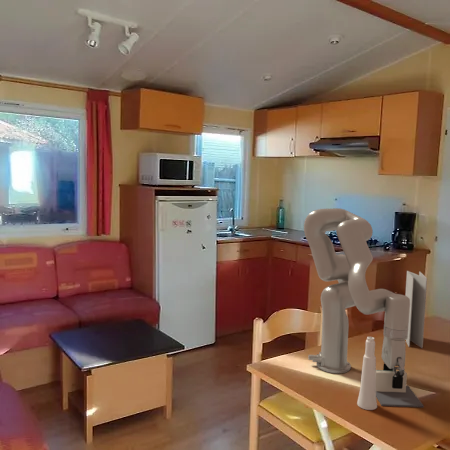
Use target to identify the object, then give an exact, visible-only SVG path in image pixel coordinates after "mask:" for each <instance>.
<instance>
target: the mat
mask: <svg viewBox="0 0 450 450" xmlns="http://www.w3.org/2000/svg"><path fill="white" fill-rule="evenodd" d="M376 400H377V402H379V404H380V406H381V407H399V408H403V407H404V408H424V407H425V406H424V404H423V403H422V402H421V400H420V399H419V398H418V396H417V395H416V393H414V391H413V389H411V387H410V385H408V384H406V392H381V391H376Z"/></svg>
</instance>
